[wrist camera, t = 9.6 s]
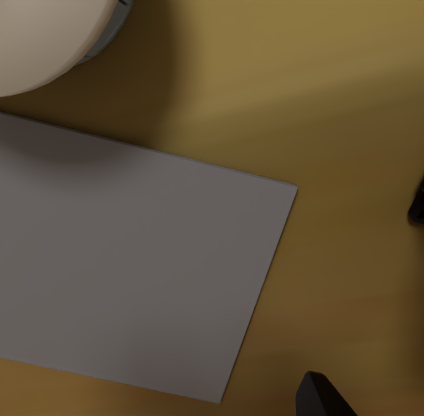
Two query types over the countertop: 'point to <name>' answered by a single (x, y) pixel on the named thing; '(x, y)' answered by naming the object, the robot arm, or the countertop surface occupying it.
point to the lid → (46, 39)
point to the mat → (129, 258)
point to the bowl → (110, 29)
